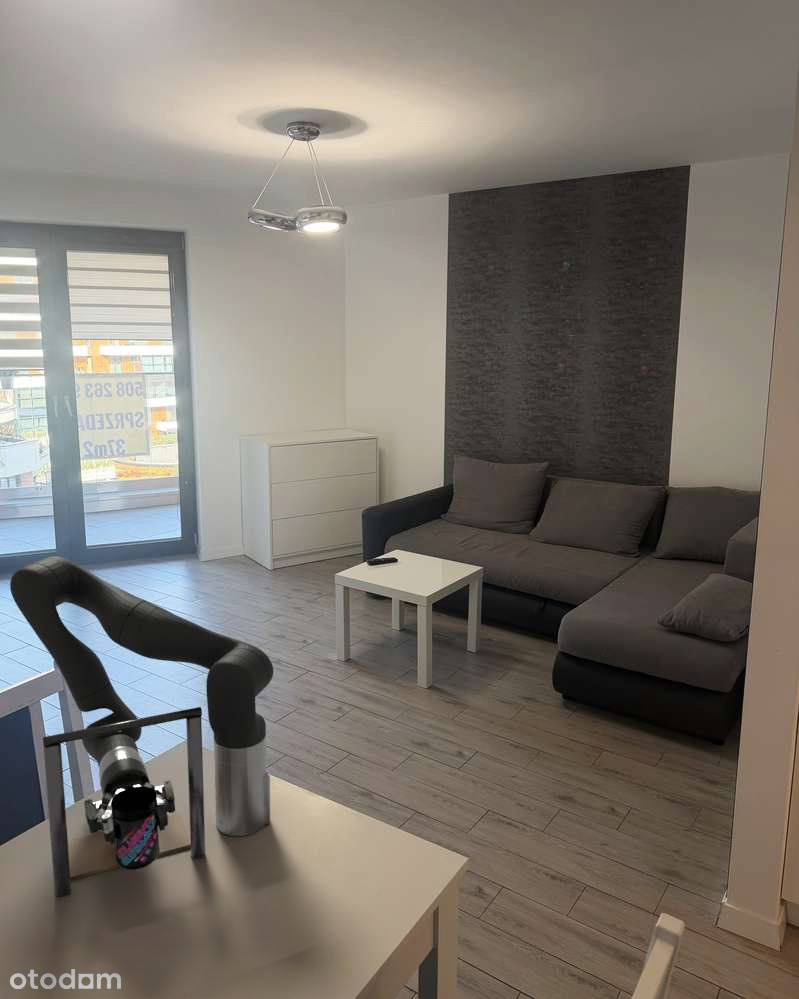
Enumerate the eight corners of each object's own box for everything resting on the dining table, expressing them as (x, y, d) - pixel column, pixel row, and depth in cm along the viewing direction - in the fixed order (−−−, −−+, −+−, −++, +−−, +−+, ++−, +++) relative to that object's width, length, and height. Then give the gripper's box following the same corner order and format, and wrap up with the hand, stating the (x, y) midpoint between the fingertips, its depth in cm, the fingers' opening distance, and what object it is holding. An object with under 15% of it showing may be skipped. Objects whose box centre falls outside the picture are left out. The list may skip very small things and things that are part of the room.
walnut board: (179, 815, 140) (179, 812, 140) (190, 847, 132) (190, 844, 132) (62, 845, 131) (62, 842, 131) (66, 881, 123) (66, 878, 123)
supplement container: (106, 869, 117) (102, 809, 114) (128, 841, 123) (124, 784, 121) (147, 874, 116) (143, 814, 113) (167, 846, 122) (164, 788, 120)
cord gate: (203, 848, 131) (199, 704, 126) (206, 857, 129) (202, 710, 124) (54, 890, 121) (42, 734, 115) (55, 899, 119) (43, 741, 113)
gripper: (77, 767, 127) (86, 823, 112) (164, 747, 133) (184, 797, 119) (80, 807, 128) (89, 867, 114) (167, 785, 135) (186, 840, 120)
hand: (138, 831), depth 116 cm, fingers closed on supplement container, 6 cm apart
